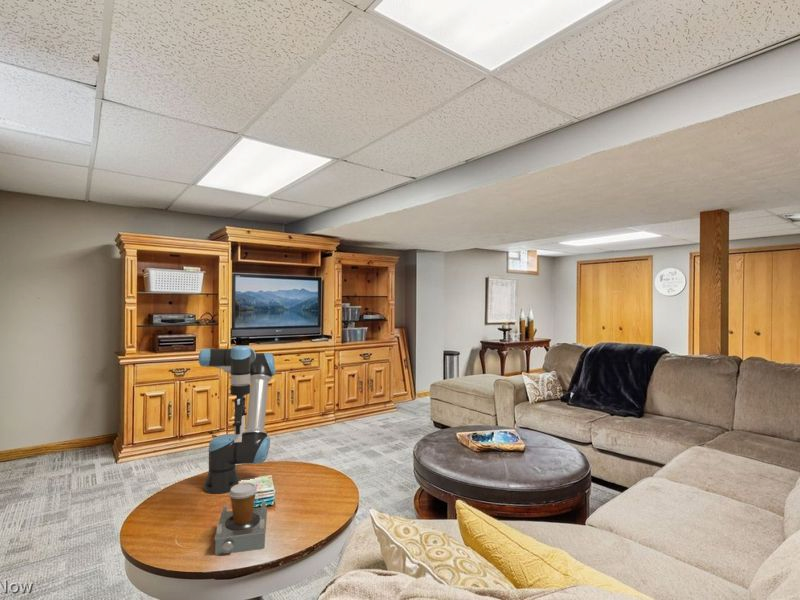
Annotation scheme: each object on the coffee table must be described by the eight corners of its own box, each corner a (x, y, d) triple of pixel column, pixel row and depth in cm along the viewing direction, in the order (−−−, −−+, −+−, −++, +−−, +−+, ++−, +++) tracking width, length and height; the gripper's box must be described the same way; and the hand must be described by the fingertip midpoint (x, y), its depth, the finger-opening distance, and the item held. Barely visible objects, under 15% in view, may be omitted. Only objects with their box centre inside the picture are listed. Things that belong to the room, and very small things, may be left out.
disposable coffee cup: (255, 525, 153) (256, 491, 153) (227, 528, 150) (227, 494, 150) (257, 512, 162) (257, 481, 162) (230, 515, 160) (231, 483, 160)
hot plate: (221, 527, 163) (221, 504, 163) (267, 522, 167) (267, 499, 167) (213, 557, 144) (214, 530, 144) (265, 550, 149) (265, 524, 149)
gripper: (233, 379, 184) (233, 428, 184) (226, 390, 160) (225, 447, 160) (252, 378, 186) (251, 427, 186) (247, 390, 162) (247, 445, 162)
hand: (239, 436), depth 173 cm, fingers open, 13 cm apart
